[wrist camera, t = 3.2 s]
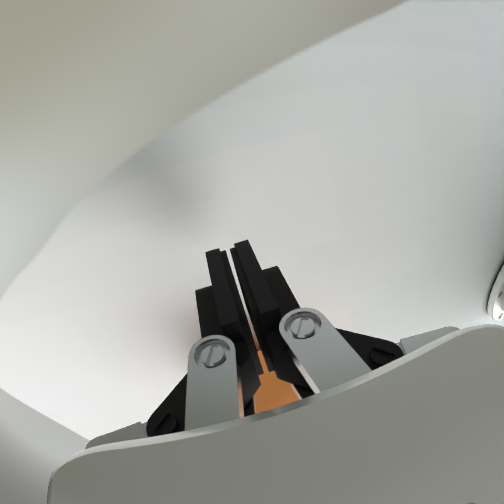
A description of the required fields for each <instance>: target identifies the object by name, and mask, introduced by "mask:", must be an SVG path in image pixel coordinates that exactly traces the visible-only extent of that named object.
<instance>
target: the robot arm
mask: <svg viewBox="0 0 504 504" xmlns="http://www.w3.org/2000/svg"><path fill="white" fill-rule="evenodd" d="M234 246H235V247H234V248H231V249H230V252H231V255H232V259H233V262H234V266H235V269H236V273H237V276H238V280H239V283H240V287H241V290H242V294H243V297H244V301H245V304H246V307H247V310H248V313H249V316H250V319H251V322H252V325H253V328H254V331H255V334H256V337H257V340H258V342H259V345H260V348H261V351H262V354H263V357H264V360H265V363H266V366H267V369H268V371H269V372H272V371H275V374H276V376H277V378H279V379H280V380H283V381H286V382H289V383H290V385H291V387H292V389H293V391H294V392H295V394H296V396H297V397H298V399H299V400H298V401H295V402H292V403H289V404H286V405H283V406H280V407H277V408H274V409H270V410H267V411H264V412H260V413H257V407H256V399H255V396H254V394H255V393H256V391H257V390H258V388H259V387H260V385H261V382H260V379H259V375H262V374H264V372H263V368H262V365H261V362H260V359H259V356H258V352H257V349H256V346H255V343H254V340H253V336H252V333H251V330H250V327H249V323H248V320H247V317H246V314H245V311H244V307H243V304H242V301H241V298H240V295H239V292H238V289H237V286H236V282H235V279H234V276H233V273H232V270H231V267H230V263H229V260H228V257H227V254H226V251H225V250H224V251H221V252H220V250H219V248H218V249H215V250H211V251H208V252H205V253H206V258H207V263H208V268H209V273H210V278H211V283H212V286H208V287H205V288H202V289H198V290H196V291H195V292H196V301H197V308H198V315H199V322H200V329H201V336H202V339H201V340H199V341H198V342H197V343H196V344H194V346H193V347H192V349H191V350H190V353H189V360H188V373H187V374H186V375H185V376H184V378H183V379H182V380H181V381H180V382H179V384H178V385H177V386H176V387H175V388H174V389H173V391H172V392H171V393H170V394H169V395H168V396H167V398H166V399H165V400H164V401H163V402H162V403H161V405H160V406H159V407H158V408H157V409H156V410H155V412H154V413H153V414H152V415H151V417H150V418H149V420H148V422H146V423H143V424H142V423H141V422H138V423H135V424H133V425H130V426H127V427H125V428H122V429H119V430H116V431H114V432H111V433H108V434H105V435H102V436H99V437H96V438H94V439H93V440H91V441H90V442H89V443H88V444H87V446H86V449H85V450H83V451H80V452H78V453H76V454H73V455H71V456H69V457H67V458H66V459H65V460H63V461H62V462H61V463H59V464H58V465H57V466H56V468H55V469H54V470H53V472H52V475H51V478H50V481H49V486H48V493H47V504H504V327H502V326H499V325H491V324H486V325H477V326H471V327H467V328H463V329H458V328H456V327H444V328H441V329H437V330H434V331H430V332H427V333H423V334H419V335H416V336H412V337H408V338H404V339H400V343H396V344H395V343H393V342H390V341H388V340H383V339H379V338H375V337H370V336H366V335H362V334H358V333H353V332H349V331H345V330H341V329H337V328H334V327H333V325H332V324H331V323H330V322H329V321H328V320H327V319H326V318H325V316H324V315H323V314H321V313H320V312H319V311H317V310H314V309H311V308H300V306H299V304H298V302H297V301H296V299H295V297H294V295H293V293H292V291H291V290H290V288H289V286H288V284H287V282H286V280H285V279H284V277H283V275H282V273H281V271H280V269H279V268H278V266H275V267H271V268H268V269H265V270H262V269H261V267H260V265H259V263H258V261H257V259H256V256H255V254H254V252H253V250H252V248H251V246H250V243H249V241H248V240H245V241H242V242H238V243H235V244H234ZM488 314H489V316H490V317H492V318H493V319H494V320H495V321H499V320H502V319H504V264H503V266H502V268H501V270H500V272H499V274H498V276H497V279H496V281H495V283H494V285H493V288H492V291H491V293H490V297H489V300H488Z"/></svg>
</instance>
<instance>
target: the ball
mask: <svg viewBox="0 0 504 504" xmlns="http://www.w3.org/2000/svg"><path fill="white" fill-rule="evenodd" d="M257 352H258V356H259V359H260V362H261V365H262V368H263V372H264V374H262V375H259V379H260V382H261V385H260V387H259V388H258V390H257V391H256V393H255V394H254V396H255V399H256V407H257V413H260V412H264V411H267V410H270V409H274V408H277V407H280V406H283V405H286V404H289V403H292V402H295V401H298V400H299V399H298V397H297V396H296V394H295V392H294V391H293V389H292V387H291V385H290V383H289V382H286V381H283V380H280V379H279V378H277V376H276V374H275V371H272V372H269V371H268V369H267V366H266V363H265V360H264V357H263V354H262V351H261V350H259V351H257Z"/></svg>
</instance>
